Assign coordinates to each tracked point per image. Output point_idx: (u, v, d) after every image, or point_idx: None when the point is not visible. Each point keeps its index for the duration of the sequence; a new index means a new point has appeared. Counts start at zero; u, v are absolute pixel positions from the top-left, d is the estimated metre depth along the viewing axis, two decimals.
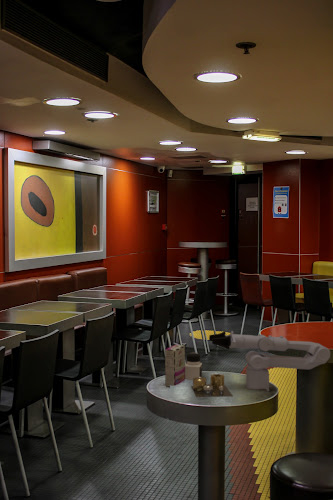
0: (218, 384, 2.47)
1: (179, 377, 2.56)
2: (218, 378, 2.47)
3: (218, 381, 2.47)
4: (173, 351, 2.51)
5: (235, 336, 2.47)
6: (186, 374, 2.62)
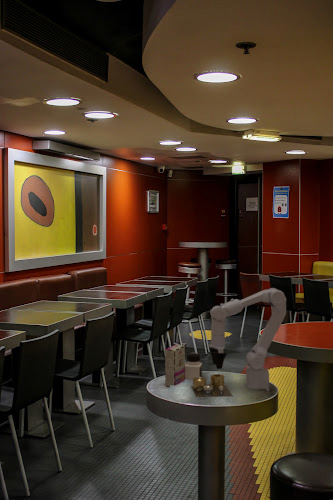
0: (218, 384, 2.47)
1: (179, 377, 2.56)
2: (218, 378, 2.47)
3: (218, 381, 2.47)
4: (173, 351, 2.51)
5: (213, 343, 2.47)
6: (186, 374, 2.62)
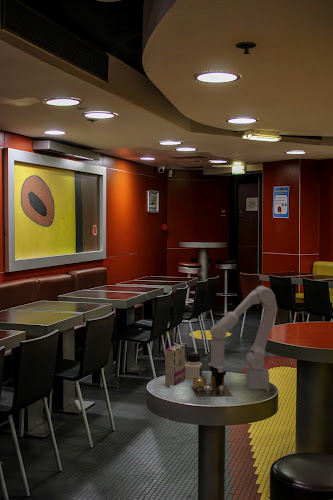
0: None
1: (179, 377, 2.56)
2: None
3: None
4: (173, 351, 2.51)
5: (213, 362, 2.47)
6: (186, 374, 2.62)
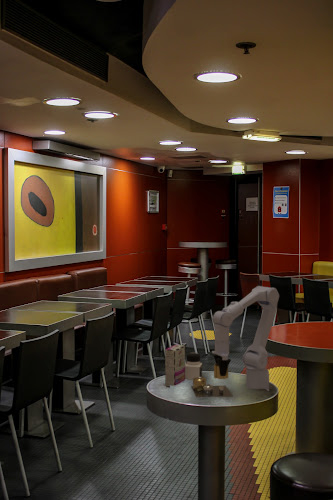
0: None
1: (179, 377, 2.56)
2: None
3: None
4: (173, 351, 2.51)
5: (217, 350, 2.38)
6: (186, 374, 2.62)
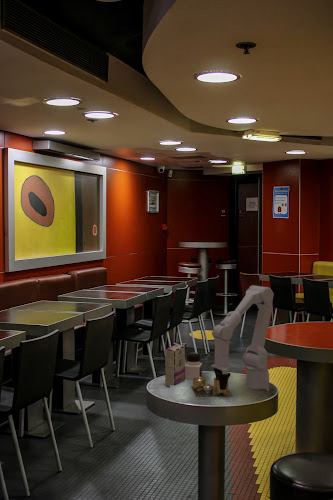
0: None
1: (179, 377, 2.56)
2: None
3: None
4: (173, 351, 2.51)
5: (217, 364, 2.38)
6: (186, 374, 2.62)
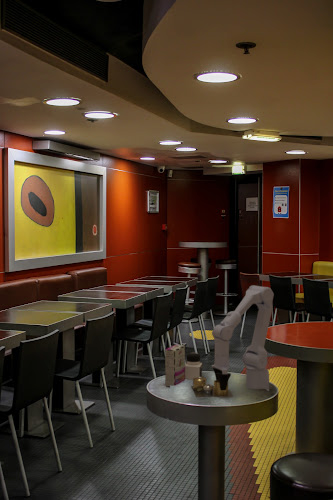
0: (222, 390, 2.38)
1: (179, 377, 2.56)
2: None
3: None
4: (173, 351, 2.51)
5: (217, 364, 2.38)
6: (186, 374, 2.62)
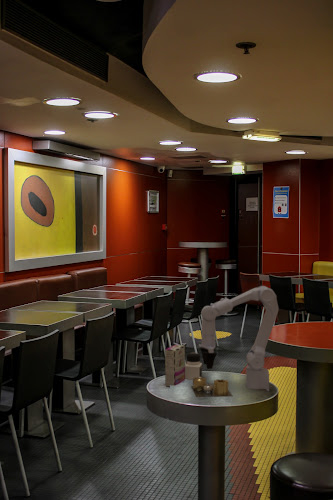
0: (222, 390, 2.38)
1: (179, 377, 2.56)
2: (222, 384, 2.38)
3: (222, 387, 2.38)
4: (173, 351, 2.51)
5: (203, 343, 2.47)
6: (186, 374, 2.62)
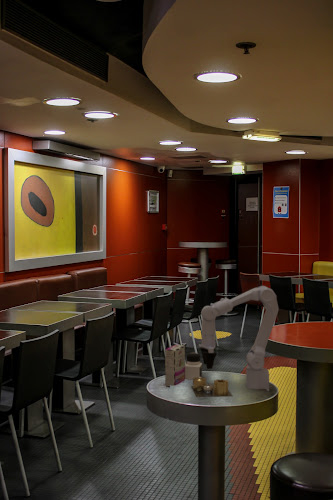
0: (222, 390, 2.38)
1: (179, 377, 2.56)
2: (222, 384, 2.38)
3: (222, 387, 2.38)
4: (173, 351, 2.51)
5: (203, 343, 2.47)
6: (186, 374, 2.62)
